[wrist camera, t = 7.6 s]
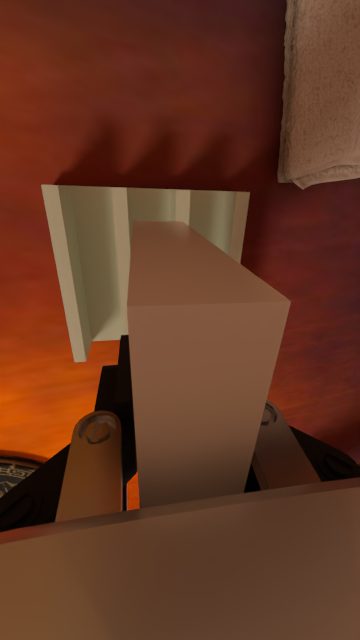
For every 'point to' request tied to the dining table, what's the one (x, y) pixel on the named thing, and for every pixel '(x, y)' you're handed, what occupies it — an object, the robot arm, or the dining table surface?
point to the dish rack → (123, 246)
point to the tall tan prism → (196, 362)
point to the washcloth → (321, 93)
